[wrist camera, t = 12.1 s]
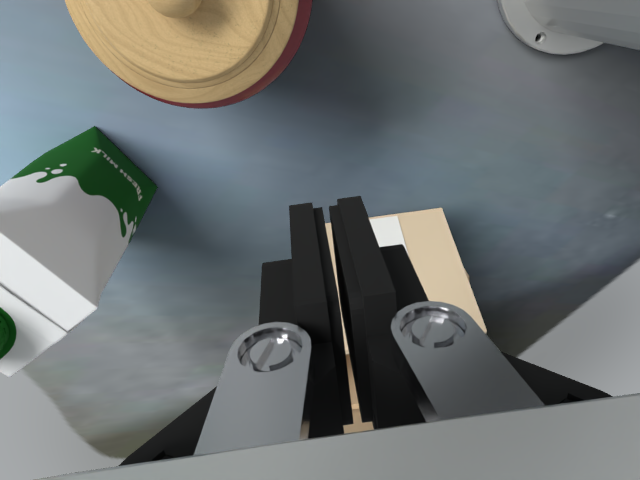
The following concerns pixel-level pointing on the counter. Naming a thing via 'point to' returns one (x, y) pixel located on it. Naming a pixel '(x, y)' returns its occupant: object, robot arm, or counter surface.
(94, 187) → the milk carton
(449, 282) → the panel
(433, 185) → the counter surface
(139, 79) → the canister
